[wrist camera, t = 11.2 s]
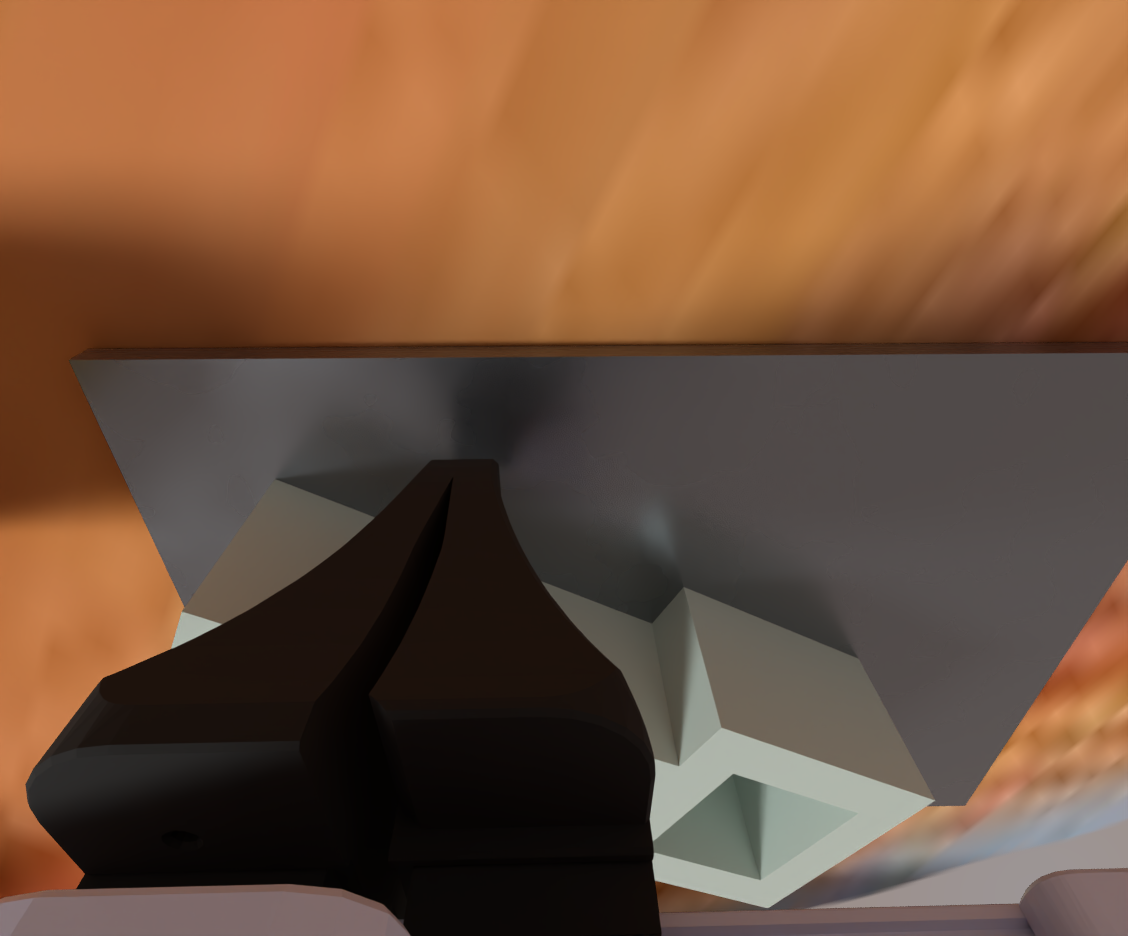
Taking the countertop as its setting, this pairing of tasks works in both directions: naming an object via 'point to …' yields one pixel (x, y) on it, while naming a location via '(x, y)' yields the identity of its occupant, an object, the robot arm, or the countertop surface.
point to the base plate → (700, 487)
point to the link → (674, 715)
